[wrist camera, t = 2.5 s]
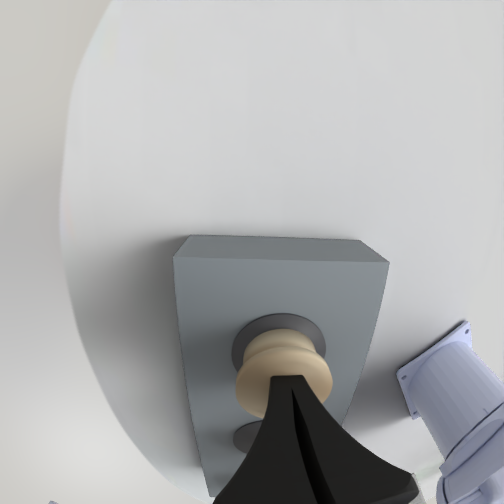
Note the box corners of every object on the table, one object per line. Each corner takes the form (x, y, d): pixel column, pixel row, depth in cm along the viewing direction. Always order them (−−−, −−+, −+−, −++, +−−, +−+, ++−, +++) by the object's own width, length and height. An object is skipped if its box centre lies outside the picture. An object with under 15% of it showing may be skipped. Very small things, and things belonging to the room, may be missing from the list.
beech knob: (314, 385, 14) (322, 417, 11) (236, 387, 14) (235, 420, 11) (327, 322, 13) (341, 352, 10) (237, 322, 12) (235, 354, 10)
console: (302, 467, 24) (306, 497, 20) (212, 468, 23) (209, 498, 19) (360, 240, 16) (391, 263, 12) (190, 234, 16) (171, 258, 12)
